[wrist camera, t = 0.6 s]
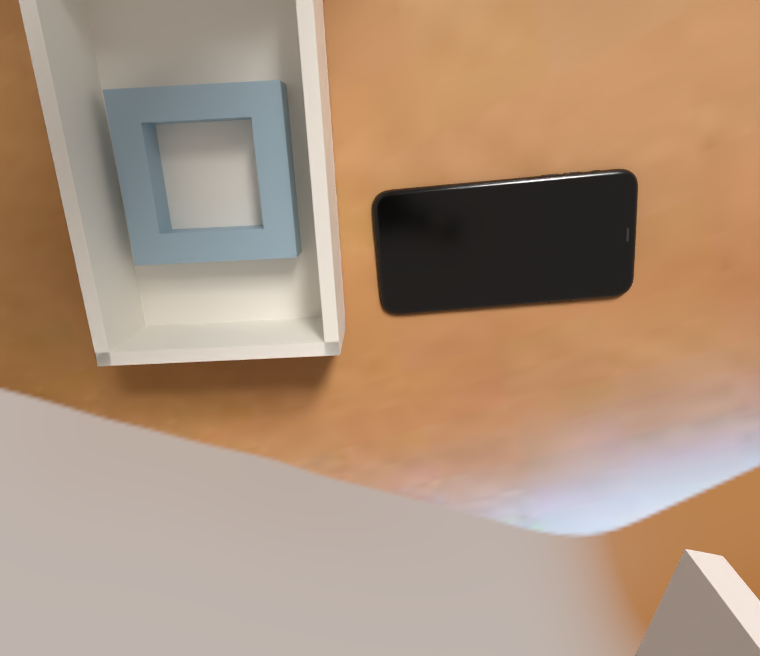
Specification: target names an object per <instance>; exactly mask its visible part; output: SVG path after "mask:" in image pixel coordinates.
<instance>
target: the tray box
mask: <svg viewBox="0 0 760 656" xmlns="http://www.w3.org/2000/svg"><path fill="white" fill-rule="evenodd" d="M19 5H20V9H21V14H22V18H23V23H24V28H25V32H26V37H27V42H28V46H29V51H30V55H31V60H32V65H33V69H34V74H35V79H36V83H37V88H38V92H39V97H40V102H41V106H42V111H43V116H44V120H45V125H46V129H47V134H48V139H49V143H50V148H51V152H52V157H53V162H54V166H55V171H56V176H57V180H58V185H59V189H60V194H61V199H62V203H63V208H64V213H65V217H66V222H67V226H68V231H69V236H70V240H71V245H72V250H73V254H74V259H75V263H76V268H77V273H78V277H79V282H80V287H81V291H82V296H83V300H84V305H85V310H86V314H87V319H88V323H89V328H90V333H91V337H92V342H93V347H94V351H95V356H96V360H97V365H98V366H117V365H139V364H160V363H182V362H204V361H225V360H247V359H268V358H290V357H312V356H333V355H340V353H341V348H342V343H343V338H344V333H345V328H346V320H345V306H344V292H343V278H342V264H341V250H340V236H339V222H338V208H337V194H336V180H335V166H334V152H333V138H332V124H331V110H330V95H329V81H328V67H327V53H326V39H325V25H324V11H323V0H19Z"/></svg>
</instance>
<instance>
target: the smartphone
mask: <svg viewBox="0 0 760 656" xmlns="http://www.w3.org/2000/svg"><path fill="white" fill-rule="evenodd" d="M637 198H638V182H637V179H636V177H635V175H634V174H633V173H632V172H630V171H628V170H625V169H611V170H595V171H589V172H572V173H564V174H550V175H541V176H535V177H524V178H513V179H502V180H491V181H480V182H469V183H458V184H447V185H436V186H426V187H415V188H404V189H393V190H387V191H383V192H381V193H379V194H378V195H377V196H376V197H375V199H374V201H373V204H372V216H373V228H374V239H375V249H376V257H377V272H378V282H379V292H380V300H381V304H382V306H383V308H384V309H385V310H386V311H387V312H389V313H392V314H412V313H424V312H436V311H448V310H460V309H472V308H484V307H496V306H508V305H520V304H532V303H544V302H548V303H550V302H562V301H573V300H580V299H592V298H604V297H614V296H619V295H622V294H624V293H626V292H627V291H628V290H629V289H630V287H631V285H632V283H633V278H634V260H635V240H636V220H637Z"/></svg>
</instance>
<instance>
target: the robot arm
mask: <svg viewBox="0 0 760 656" xmlns="http://www.w3.org/2000/svg"><path fill="white" fill-rule="evenodd" d="M635 656H760V601H759V600H758V598H757V597H756V596H755V595H754V594H753V592H752V591H751V590H750V589H749V588H748V586H747V585H746V584H745V583H744V581H743V580H742V579H741V578H740V577H739V575H738V574H737V573H736V572H735V570H734V569H733V568H732V567H731V566H730V565H729V563H728V562H727V561H726V560H725V558H724V557H723V556H720V555H714V554H709V553H703V552H698V551H693V550H687V549H685V550H684V553H683V555H682V557H681V559H680V561H679V563H678V566H677V568H676V570H675V572H674V574H673V576H672V578H671V580H670V583H669V585H668V587H667V589H666V591H665V593H664V595H663V597H662V599H661V602H660V604H659V606H658V608H657V610H656V612H655V614H654V617H653V619H652V621H651V623H650V625H649V627H648V629H647V631H646V633H645V636H644V638H643V640H642V642H641V644H640V646H639V648H638V650H637V653H636V655H635Z"/></svg>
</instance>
